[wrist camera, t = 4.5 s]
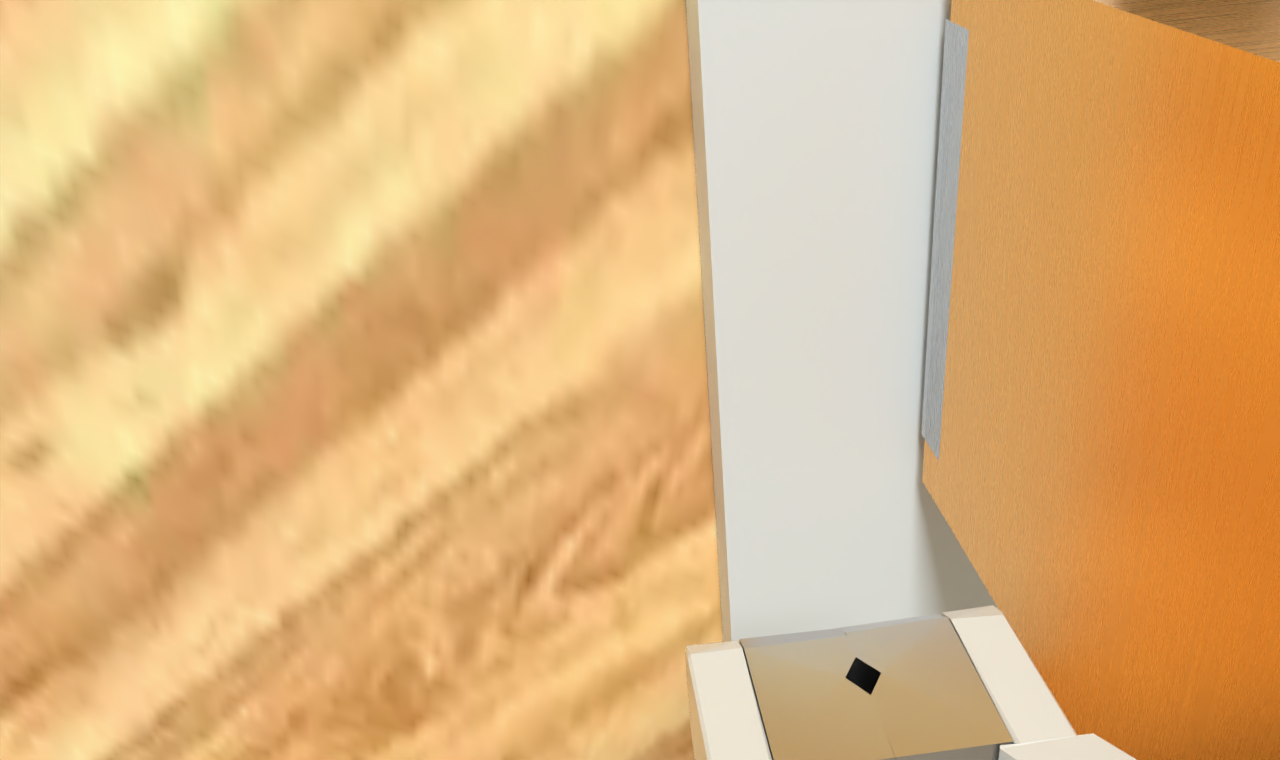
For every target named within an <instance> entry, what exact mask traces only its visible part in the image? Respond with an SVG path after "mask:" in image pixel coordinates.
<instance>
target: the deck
mask: <svg viewBox="0 0 1280 760" xmlns="http://www.w3.org/2000/svg"><path fill="white" fill-rule="evenodd" d="M951 1H952V0H686V13H687V31H688V48H689V65H690V82H691V99H692V116H693V134H694V151H695V168H696V185H697V202H698V219H699V237H700V254H701V271H702V288H703V305H704V322H705V340H706V357H707V374H708V391H709V408H710V425H711V443H712V460H713V477H714V494H715V511H716V528H717V546H718V563H719V580H720V597H721V614H722V631H723V642H729V641H738V643H739V639H744V638H753V637H763V636H772V635H781V634H790V633H800V632H809V631H818V630H827V629H836V628H840V627H847V626H854V625H861V624H868V623H875V622H882V621H889V620H896V619H903V618H910V617H917V616H924V615H931V614H939V615H941V613H943V612H950V611H957V610H964V609H971V608H977V607H984V606H991V605H993V606H995V607H996V608H998V607H997V605H996V604H995V602H994V600H993V599H992V597H991V595H990V594H989V592H988V590H987V588H986V587H985V585H984V583H983V582H982V580H981V578H980V577H979V575H978V573H977V572H976V570H975V568H974V567H973V565H972V563H971V562H970V560H969V558H968V557H967V555H966V553H965V552H964V550H963V548H962V547H961V545H960V543H959V542H958V540H957V538H956V536H955V535H954V533H953V531H952V530H951V528H950V526H949V525H948V523H947V521H946V520H945V518H944V516H943V515H942V513H941V511H940V510H939V508H938V506H937V505H936V503H935V501H934V500H933V498H932V496H931V495H930V493H929V491H928V490H927V488H926V486H925V485H924V483H923V481H922V476H923V460H924V443H925V439H924V437H923V436H922V434H921V432H922V415H923V398H924V381H925V364H926V347H927V330H928V313H929V296H930V279H931V262H932V245H933V228H934V211H935V194H936V177H937V160H938V143H939V126H940V109H941V92H942V75H943V59H944V42H945V25H946V19H949V18H950V17H951Z"/></svg>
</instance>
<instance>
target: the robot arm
mask: <svg viewBox="0 0 1280 760" xmlns="http://www.w3.org/2000/svg"><path fill="white" fill-rule="evenodd" d="M685 659H686V672H687V685H688V697H689V710H690V723H691V734H692V742H693V751H694V760H1137V759H1135V758H1134V757H1132V756H1130V755H1129V754H1127V753H1125V752H1124V751H1122V750H1120V749H1119V748H1117V747H1115V746H1114V745H1112V744H1111V743H1109V742H1107V741H1106V740H1104V739H1102V738H1101V737H1099V736H1097V735H1096V734H1094V733H1092V734H1083V735H1077V734H1076V732H1075V730H1074V729H1073V727H1072V725H1071V724H1070V722H1069V720H1068V719H1067V717H1066V715H1065V714H1064V712H1063V711H1062V709H1061V707H1060V706H1059V704H1058V702H1057V701H1056V699H1055V697H1054V696H1053V694H1052V693H1051V691H1050V689H1049V688H1048V686H1047V684H1046V683H1045V681H1044V679H1043V678H1042V676H1041V674H1040V673H1039V671H1038V670H1037V668H1036V666H1035V665H1034V663H1033V661H1032V660H1031V658H1030V656H1029V655H1028V653H1027V651H1026V650H1025V648H1024V647H1023V645H1022V643H1021V642H1020V640H1019V638H1018V637H1017V635H1016V633H1015V632H1014V630H1013V629H1012V627H1011V625H1010V624H1009V622H1008V620H1007V619H1006V617H1005V615H1004V614H1003V612H1002V611H1001V610H999V609H998V608H996V607H995V606H993V605H991V606H984V607H977V608H971V609H964V610H957V611H950V612H943V613H941V615H939V614H931V615H924V616H917V617H910V618H903V619H896V620H889V621H882V622H875V623H868V624H861V625H854V626H847V627H840V628H836V629H827V630H818V631H809V632H800V633H790V634H781V635H772V636H763V637H753V638H744V639H739V643H738V641H729V642H719V643H709V644H699V645H689V646H686V651H685Z"/></svg>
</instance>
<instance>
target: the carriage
mask: <svg viewBox="0 0 1280 760" xmlns="http://www.w3.org/2000/svg"><path fill="white" fill-rule="evenodd" d="M921 434H922V436H923V437H924V439H925V443H924V460H923V476H922V481H923V483H924V485H925V486H926V488H927V490H928V491H929V493H930V495H931V496H932V498H933V500H934V501H935V503H936V505H937V506H938V508H939V510H940V511H941V513H942V515H943V516H944V518H945V520H946V521H947V523H948V525H949V526H950V528H951V530H952V531H953V533H954V535H955V536H956V538H957V540H958V542H959V543H960V545H961V547H962V548H963V550H964V552H965V553H966V555H967V557H968V558H969V560H970V562H971V563H972V565H973V567H974V568H975V570H976V572H977V573H978V575H979V577H980V578H981V580H982V582H983V583H984V585H985V587H986V588H987V590H988V592H989V594H990V595H991V597H992V599H993V600H994V602H995V604H996V605H997V607H998V609H999V610H1001V611H1002V612H1003V614H1004V615H1005V617H1006V619H1007V620H1008V622H1009V624H1010V625H1011V627H1012V629H1013V630H1014V632H1015V633H1016V635H1017V637H1018V638H1019V640H1020V642H1021V643H1022V645H1023V647H1024V648H1025V650H1026V651H1027V653H1028V655H1029V656H1030V658H1031V660H1032V661H1033V663H1034V665H1035V666H1036V668H1037V670H1038V671H1039V673H1040V674H1041V676H1042V678H1043V679H1044V681H1045V683H1046V684H1047V686H1048V688H1049V689H1050V691H1051V693H1052V694H1053V696H1054V697H1055V699H1056V701H1057V702H1058V704H1059V706H1060V707H1061V709H1062V711H1063V712H1064V714H1065V715H1066V717H1067V719H1068V720H1069V722H1070V724H1071V725H1072V727H1073V729H1074V730H1075V732H1076V734H1077V735H1083V734H1092V733H1094V734H1096V735H1097V736H1099V737H1101V738H1102V739H1104V740H1106V741H1107V742H1109V743H1111V744H1112V745H1114V746H1115V747H1117V748H1119V749H1120V750H1122V751H1124V752H1125V753H1127V754H1129V755H1130V756H1132V757H1134V758H1135V759H1137V760H1280V0H952V1H951V17H950V18H949V19H946V25H945V42H944V59H943V75H942V92H941V109H940V126H939V143H938V160H937V177H936V194H935V211H934V228H933V245H932V262H931V279H930V296H929V313H928V330H927V347H926V364H925V381H924V398H923V415H922V432H921Z"/></svg>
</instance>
